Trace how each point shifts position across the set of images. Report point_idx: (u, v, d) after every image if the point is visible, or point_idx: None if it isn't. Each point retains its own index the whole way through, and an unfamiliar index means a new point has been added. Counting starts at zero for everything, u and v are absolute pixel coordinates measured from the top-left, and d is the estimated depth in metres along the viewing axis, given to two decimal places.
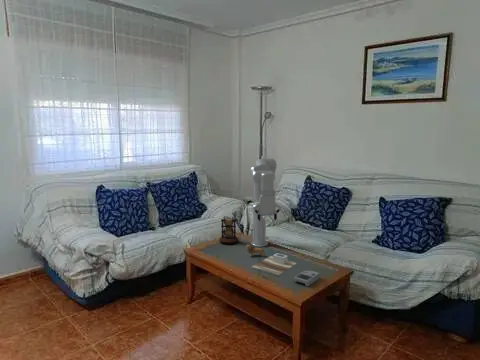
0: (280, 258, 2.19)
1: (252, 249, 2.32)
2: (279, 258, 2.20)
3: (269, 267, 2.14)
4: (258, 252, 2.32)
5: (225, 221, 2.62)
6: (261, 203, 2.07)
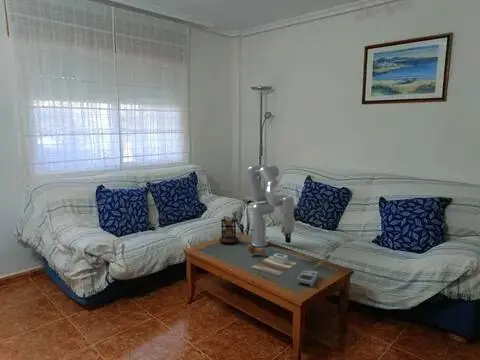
0: (280, 258, 2.19)
1: (253, 249, 2.32)
2: (279, 258, 2.20)
3: (269, 267, 2.14)
4: (259, 252, 2.32)
5: (225, 221, 2.62)
6: (288, 226, 2.22)
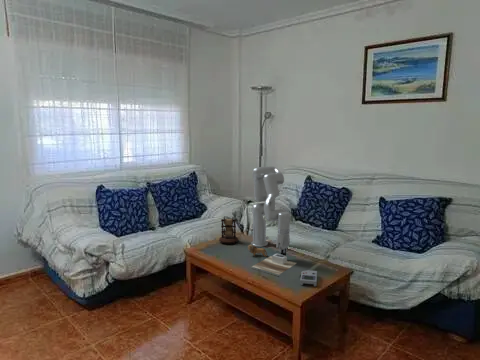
0: (279, 258, 2.19)
1: (254, 249, 2.32)
2: (278, 258, 2.19)
3: (269, 267, 2.14)
4: (260, 252, 2.32)
5: (225, 221, 2.62)
6: (283, 242, 2.19)
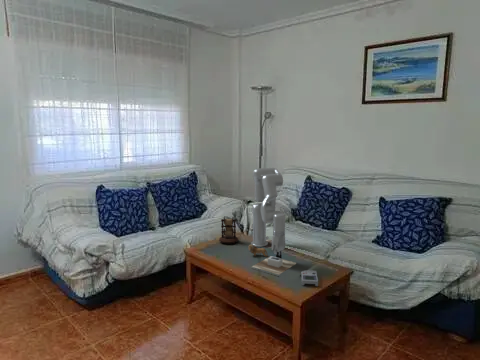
0: (275, 261, 2.14)
1: (255, 249, 2.32)
2: (274, 261, 2.14)
3: (269, 267, 2.14)
4: (261, 252, 2.32)
5: (225, 221, 2.62)
6: (278, 244, 2.15)
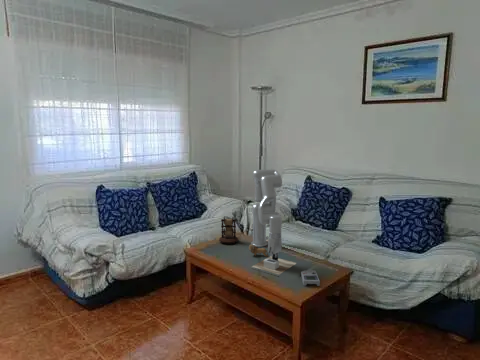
0: (271, 264, 2.10)
1: (255, 249, 2.32)
2: (270, 264, 2.11)
3: None
4: (261, 252, 2.32)
5: (225, 221, 2.62)
6: (275, 246, 2.11)
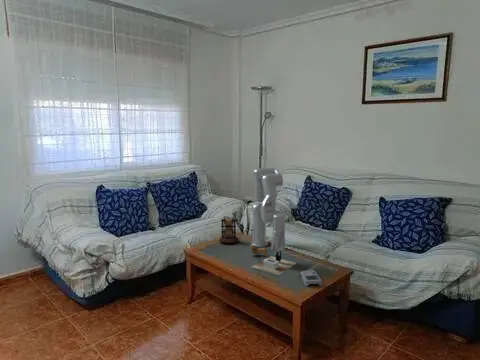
0: (271, 264, 2.10)
1: (256, 249, 2.32)
2: (270, 264, 2.11)
3: None
4: (262, 252, 2.32)
5: (225, 221, 2.62)
6: (278, 244, 2.15)
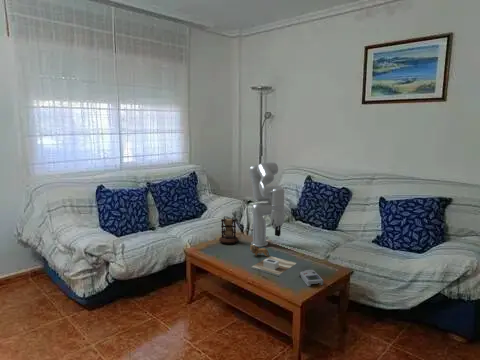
0: (271, 264, 2.10)
1: (256, 249, 2.32)
2: (270, 264, 2.11)
3: None
4: (262, 252, 2.32)
5: (225, 221, 2.62)
6: (277, 218, 2.13)
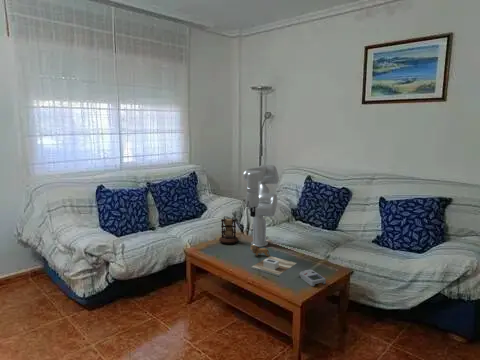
0: (271, 264, 2.10)
1: (257, 249, 2.32)
2: (270, 264, 2.11)
3: None
4: (263, 252, 2.32)
5: (225, 221, 2.62)
6: (252, 200, 2.29)
